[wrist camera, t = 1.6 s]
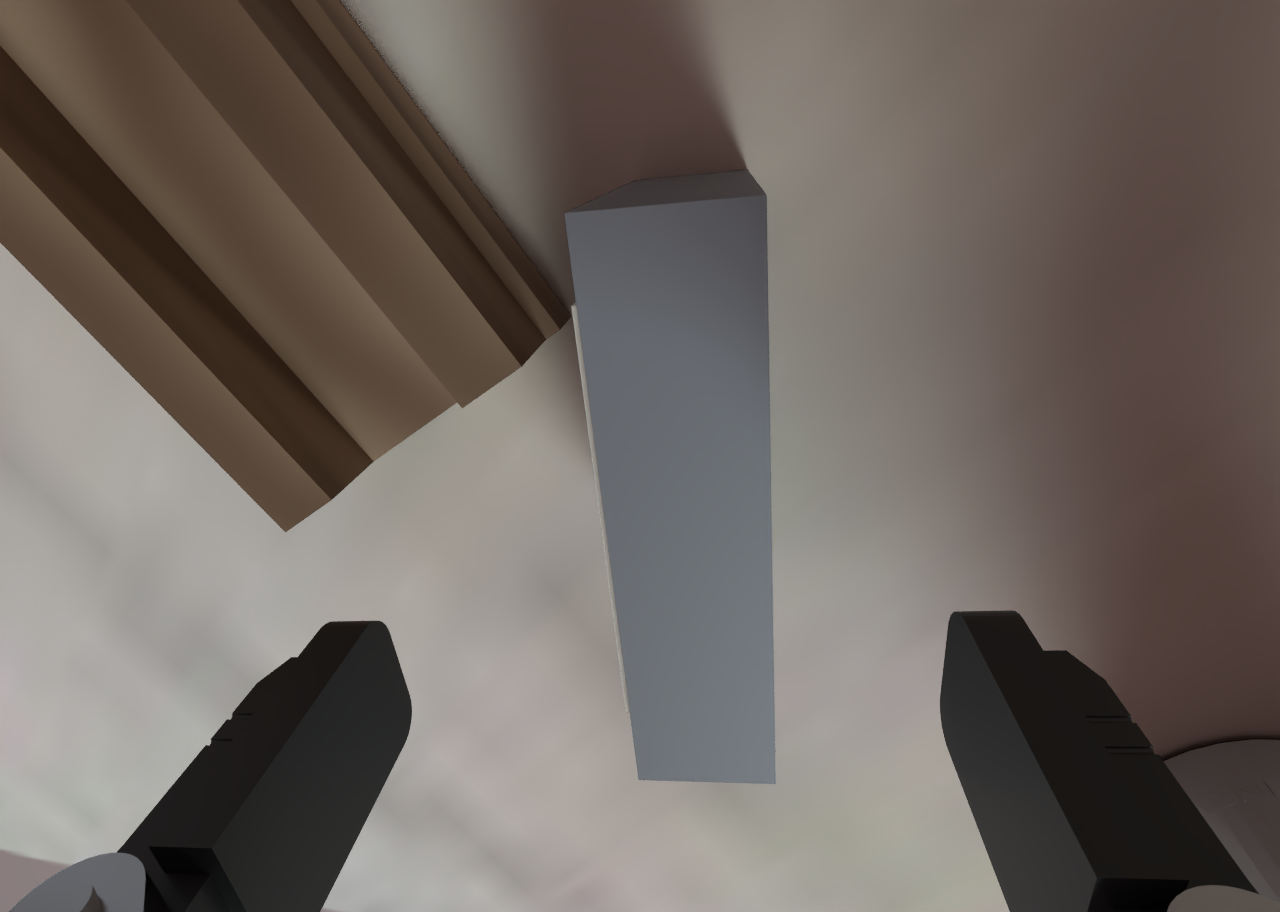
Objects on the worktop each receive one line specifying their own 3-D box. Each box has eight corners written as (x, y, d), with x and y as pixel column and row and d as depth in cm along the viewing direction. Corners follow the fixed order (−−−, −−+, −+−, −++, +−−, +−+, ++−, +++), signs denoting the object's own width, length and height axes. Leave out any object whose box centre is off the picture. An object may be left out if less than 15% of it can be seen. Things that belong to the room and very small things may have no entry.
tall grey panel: (747, 169, 18) (766, 195, 10) (757, 555, 23) (775, 783, 15) (627, 181, 18) (551, 214, 10) (662, 556, 23) (629, 779, 15)
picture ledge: (145, -265, 15) (-30, -387, 12) (570, 316, 20) (537, 355, 16) (-63, 37, 19) (-250, 13, 15) (344, 477, 23) (274, 539, 20)
